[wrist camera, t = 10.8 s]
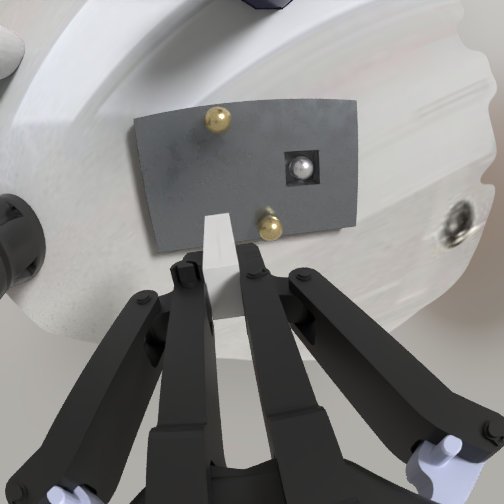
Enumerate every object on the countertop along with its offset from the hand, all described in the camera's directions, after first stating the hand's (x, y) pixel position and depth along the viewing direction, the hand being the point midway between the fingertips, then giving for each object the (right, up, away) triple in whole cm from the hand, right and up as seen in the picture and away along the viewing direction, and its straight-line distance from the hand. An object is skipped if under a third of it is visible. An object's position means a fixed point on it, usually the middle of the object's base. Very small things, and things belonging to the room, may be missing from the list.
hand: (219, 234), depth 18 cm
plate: (+2, +10, +18) cm, 21 cm away
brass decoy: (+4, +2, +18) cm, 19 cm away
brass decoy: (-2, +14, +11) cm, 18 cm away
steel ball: (+8, +10, +18) cm, 22 cm away
